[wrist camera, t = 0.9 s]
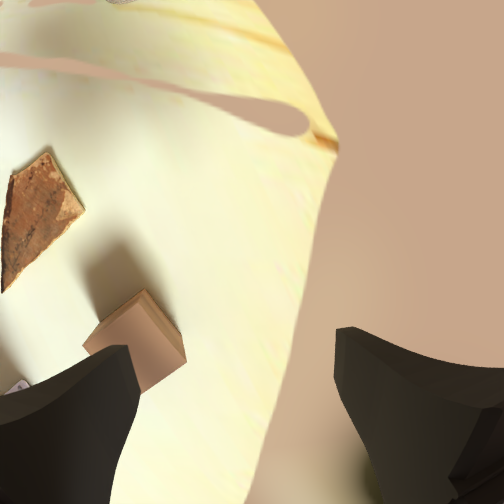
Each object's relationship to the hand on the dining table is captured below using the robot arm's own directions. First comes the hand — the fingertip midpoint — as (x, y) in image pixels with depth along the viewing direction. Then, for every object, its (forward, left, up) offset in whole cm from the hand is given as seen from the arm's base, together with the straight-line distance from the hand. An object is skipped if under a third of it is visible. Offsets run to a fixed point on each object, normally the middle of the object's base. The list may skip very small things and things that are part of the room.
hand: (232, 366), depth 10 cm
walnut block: (-5, 0, -15) cm, 16 cm away
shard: (-7, +12, -16) cm, 22 cm away
